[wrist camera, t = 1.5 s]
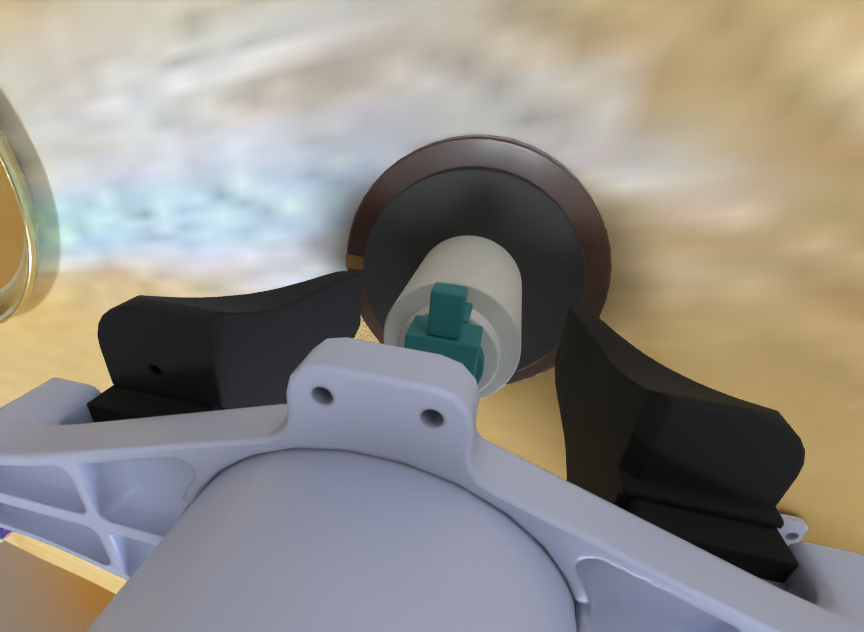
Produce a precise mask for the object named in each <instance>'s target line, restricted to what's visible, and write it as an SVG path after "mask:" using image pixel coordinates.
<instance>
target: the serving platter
mask: <svg viewBox="0 0 864 632" xmlns="http://www.w3.org/2000/svg"><path fill="white" fill-rule="evenodd" d="M39 254H40V243H39V230H38V224H37V218H36V213H35V209H34V205H33V201H32V198H31V195H30V192H29V189H28V185H27V182H26V180H25V177H24V175H23V172H22V170H21V167H20V165H19V163H18V161H17V158H16V156H15V154H14V152H13V150H12V148H11V146H10V144H9V142H8V140H7V138H6V137H5V135H4V133H3V131H2V129H1V127H0V324H1V323H4V322H5V321H7V320H8V319H10V318H12V317H13V316H14V315H15V314H16V313H17V312H18V311H19V310H20V309H21V308H22V306H23V305H24V303H25V302H26V301H27V299H28V297H29V295H30V293H31V291H32V289H33V286H34V283H35V280H36V277H37V272H38V266H39Z"/></svg>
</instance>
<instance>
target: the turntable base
mask: <svg viewBox="0 0 864 632" xmlns="http://www.w3.org/2000/svg"><path fill="white" fill-rule="evenodd" d="M460 167H487V168H492V169H497V170H502V171H505V172H508V173H511V174H514V175H517V176H519V177H521V178H523V179H525V180H527V181H529V182H531V183H533V184H534V185H536V186H537V187H539V188H540V189H542V190H543V191H544V192H546V193H547V194H548V195H549V196H550V197H551V198H552V199H553V200H554V201H555V202H557V203H558V205H559V206H560V207H561V208H562V210H563V211H564V212H565V213H566V215H567V216H568V218H569V220H570V221H571V223H572V225H573V226H574V228H575V230H576V233H577V235H578V238H579V240H580V243H581V245H582V249H583V253H584V257H585V262H586V273H587V278H586V291H585V296H584V300H583V304H582V307H581V309H584V310H589V311H591V312H592V313H593V314H595V315H596V316H597V317H598V318H599V316H600V314H601V312H602V309H603V307H604V304H605V302H606V298H607V294H608V290H609V286H610V279H611V268H612V265H611V248H610V244H609V239H608V234H607V230H606V228H605V225H604V222H603V220H602V217H601V214H600V212H599V210H598V209H597V207H596V205H595V203H594V202H593V200H592V198H591V196H590V195H589V194H588V192H587V191H586V190H585V189H584V187H583V186H582V185H581V183H580V182H579V181H578V180H577V178H576V177H575V176H574V175H573V174H572V173H570V172H569V171H568V170H567V169H566V168H565V167H564V166H563V165H562V164H560V163H559V162H558V161H556V160H555V159H553V158H552V157H551V156H549V155H548V154H546V153H544V152H542V151H540V150H538V149H536V148H534V147H532V146H530V145H527V144H524V143H521V142H518V141H515V140H512V139H508V138H502V137H497V136H485V135H470V136H460V137H453V138H449V139H445V140H441V141H437V142H435V143H432V144H430V145H427V146H425V147H422V148H420V149H417V150H415V151H413V152H412V153H410V154H408V155H407V156H405V157H403V158H401V159H400V160H398V161H397V162H396V163H395V164H393V165H392V166H391V167H390V168H388V169H387V170H386V171H385V172H384V173H383V174H382V175H381V176H380V177H379V178H378V179H377V180H376V182H375V183H374V184H373V185H372V186H371V188H370V189H369V191H368V192H367V194H366V195H365V197H364V198H363V200H362V202H361V204H360V206H359V208H358V210H357V212H356V214H355V217H354V220H353V223H352V226H351V230H350V235H349V240H348V249H347V254H346V267H347V268H348V272H354V273H360V274H361V291H360V314H361V316H362V318H363V319H364V321H365V322H366V324H367V326H368V327H369V329H370V330H371V332H372V333H373V334H374V335H375V336H376V338H377V339H378V340H379V341H380V342H381V343H382V344H384V336H383V333H384V330H383V329H382V328H381V326H380V324H379V323H378V321H377V320H376V318H375V316H374V314H373V312H372V309H371V307H370V304H369V301H368V298H367V295H366V291H365V285H364V276H363V263H364V253H365V249H366V244H367V241H368V238H369V235H370V232H371V230H372V228H373V226H374V224H375V222H376V220H377V218H378V217H379V215H380V214H381V213H382V211H383V210H384V209H385V207H386V206H387V205H388V204H389V203H390V202H391V201H392V200H393V199H394V198H395V197H396V196H397V195H398V194H399V193H401V192H402V191H403V190H405V189H406V188H407V187H409V186H410V185H412V184H413V183H415V182H417V181H419V180H420V179H422V178H424V177H426V176H429V175H431V174H434V173H437V172H439V171H444V170H448V169H452V168H460ZM558 347H559V345H558V346H557V347H556V348H555V349H554V350H553V351H551V352H550V353H549V354H548V355H546V356H545V357H544V358H542V359H541V360H539V361H537V362H536V363H534V364H533V365H531V366H528V367H526V368H524V369H522V370H519V371H516V372H514V374H513V375H512V377H511V378H510V380H509V381H508V382H507V383H506V384H511V383H516V382H520V381H523V380H526V379H529V378H532V377H534V376H536V375H539V374H541V373H543V372H545V371H547V370H549V369H550V368H552V367H554V366H555V358H556V354H557V350H558ZM506 384H505V385H506Z"/></svg>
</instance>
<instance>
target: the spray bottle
mask: <svg viewBox="0 0 864 632" xmlns="http://www.w3.org/2000/svg"><path fill="white" fill-rule="evenodd" d="M363 276H364V285H365V291H366V295H367V298H368V301H369V304H370V307H371V309H372V312H373V314H374V316H375V318H376V320H377V321H378V323H379V324H380V326H381V328H382V329H383V330H384V333H383V336H384V344H386V345H392V346H397V347H403V348H408V349H414V350H419V351H424V352H430V353H435V354H441V355H443V356H446V357H448V358H450V359H453V360H455V361H457V362H460V363H462V364H463V365H464V366H465V367H466V369H467V370H468V371H469V372H470V373H471V374H472V376H473V377H474V378H475V379H476V381H477V388H478V395H479V399H481V398H484V397H486V396H489V395H491V394H493V393H494V392H496V391H498V390H499V389H500V388H501V387H503V386H504V385H505V384H506V383H507V382H508V381H509V380H510V378H511V377H512V375H513V374H514V372H516V371H519V370H522V369H524V368H526V367H528V366H531V365H533V364H534V363H536V362H537V361H539V360H541V359H542V358H544V357H545V356H546V355H548V354H549V353H550V352H551V351H553V350H554V349H555V348H556V347H557V346H558V345H559V343H560V339H561V336H562V332H563V328H564V325H565V321H566V318H567V314H568V310H569V307H571V308H577V309H581V307H582V304H583V300H584V296H585V291H586V278H587V273H586V262H585V257H584V253H583V249H582V245H581V243H580V240H579V238H578V235H577V233H576V230H575V228H574V226H573V225H572V223H571V221H570V220H569V218H568V216H567V215H566V213H565V212H564V211H563V210H562V208H561V207H560V206H559V205H558V203H557V202H555V201H554V200H553V199H552V198H551V197H550V196H549V195H548V194H547V193H546V192H544V191H543V190H542V189H540V188H539V187H537V186H536V185H534V184H533V183H531V182H529V181H527V180H525V179H523V178H521V177H519V176H517V175H514V174H511V173H508V172H505V171H502V170H497V169H492V168H487V167H460V168H452V169H448V170H444V171H439V172H437V173H434V174H431V175H429V176H426V177H424V178H422V179H420V180H419V181H417V182H415V183H413V184H412V185H410V186H409V187H407V188H406V189H405V190H403V191H402V192H401V193H399V194H398V195H397V196H396V197H395V198H394V199H393V200H392V201H391V202H390V203H389V204H388V205H387V206H386V207H385V209H384V210H383V211H382V213H381V214H380V215H379V217H378V218H377V220H376V222H375V224H374V226H373V228H372V230H371V232H370V235H369V238H368V241H367V244H366V249H365V253H364V263H363Z"/></svg>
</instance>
